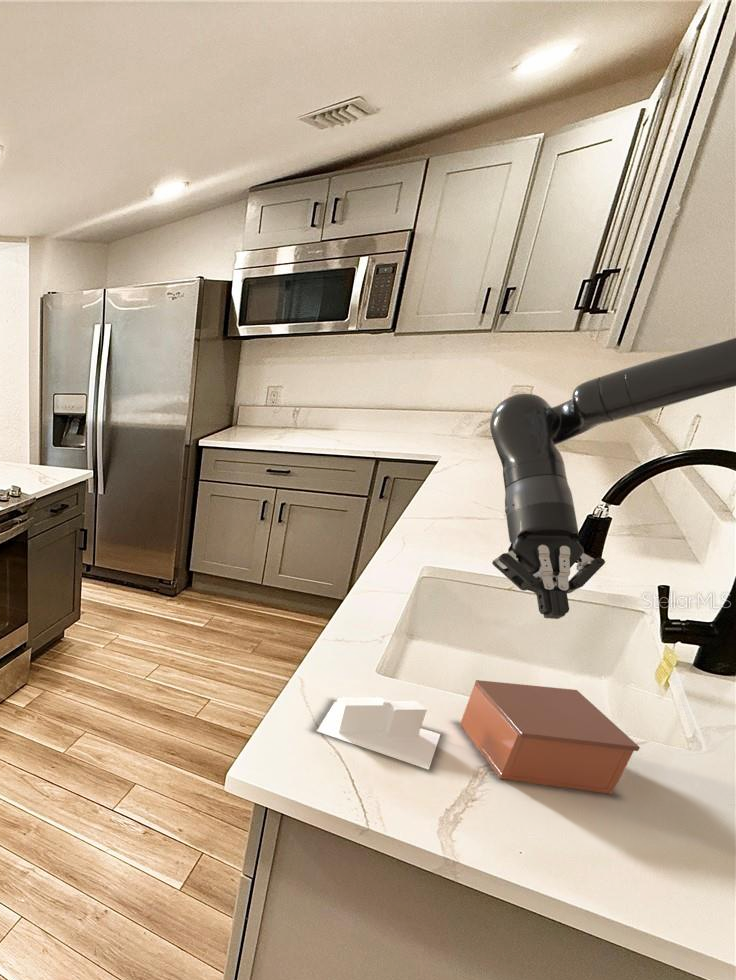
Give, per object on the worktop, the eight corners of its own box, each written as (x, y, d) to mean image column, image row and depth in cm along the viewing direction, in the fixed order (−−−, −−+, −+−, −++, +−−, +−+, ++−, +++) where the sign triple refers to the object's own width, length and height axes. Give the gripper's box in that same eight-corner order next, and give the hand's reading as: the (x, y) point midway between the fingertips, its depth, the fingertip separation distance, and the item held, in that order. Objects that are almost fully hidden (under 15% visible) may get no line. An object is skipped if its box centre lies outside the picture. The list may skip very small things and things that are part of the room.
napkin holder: (316, 731, 100) (323, 702, 98) (334, 701, 108) (340, 673, 105) (429, 770, 91) (440, 738, 88) (440, 733, 98) (451, 703, 96)
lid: (638, 751, 81) (640, 747, 80) (519, 737, 85) (521, 733, 84) (575, 693, 93) (577, 689, 93) (474, 683, 97) (475, 679, 96)
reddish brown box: (611, 794, 84) (635, 748, 81) (499, 778, 88) (517, 734, 85) (556, 735, 96) (575, 693, 93) (459, 724, 100) (474, 683, 97)
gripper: (500, 498, 93) (514, 604, 88) (611, 501, 89) (633, 612, 84) (474, 521, 100) (485, 621, 94) (576, 525, 96) (594, 629, 90)
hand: (555, 616), depth 89 cm, fingers closed
